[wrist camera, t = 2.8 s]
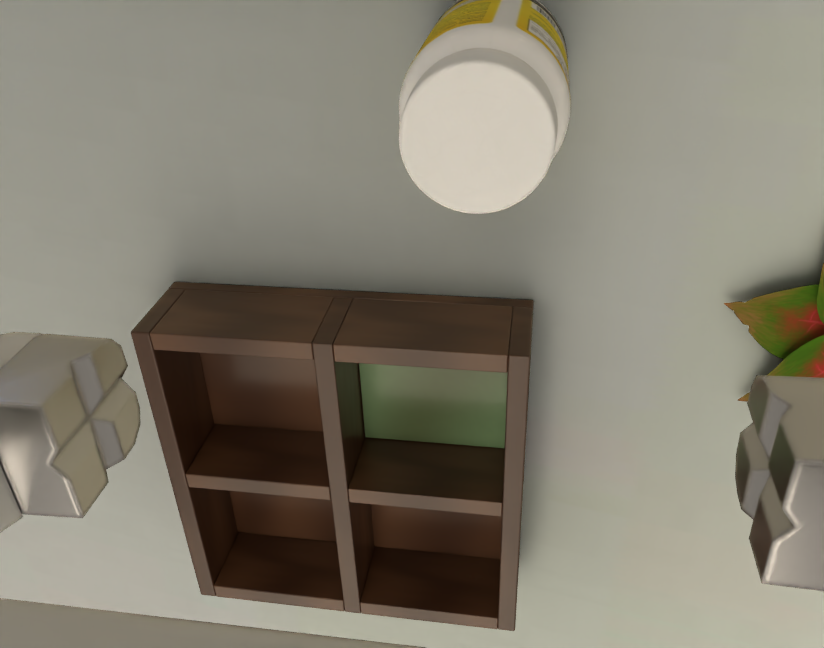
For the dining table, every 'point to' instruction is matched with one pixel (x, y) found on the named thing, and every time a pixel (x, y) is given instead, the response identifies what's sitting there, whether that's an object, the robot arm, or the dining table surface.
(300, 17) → the dining table surface
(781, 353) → the lily flower
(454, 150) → the supplement bottle
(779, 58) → the dining table surface
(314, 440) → the wooden compartment tray
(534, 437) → the dining table surface
